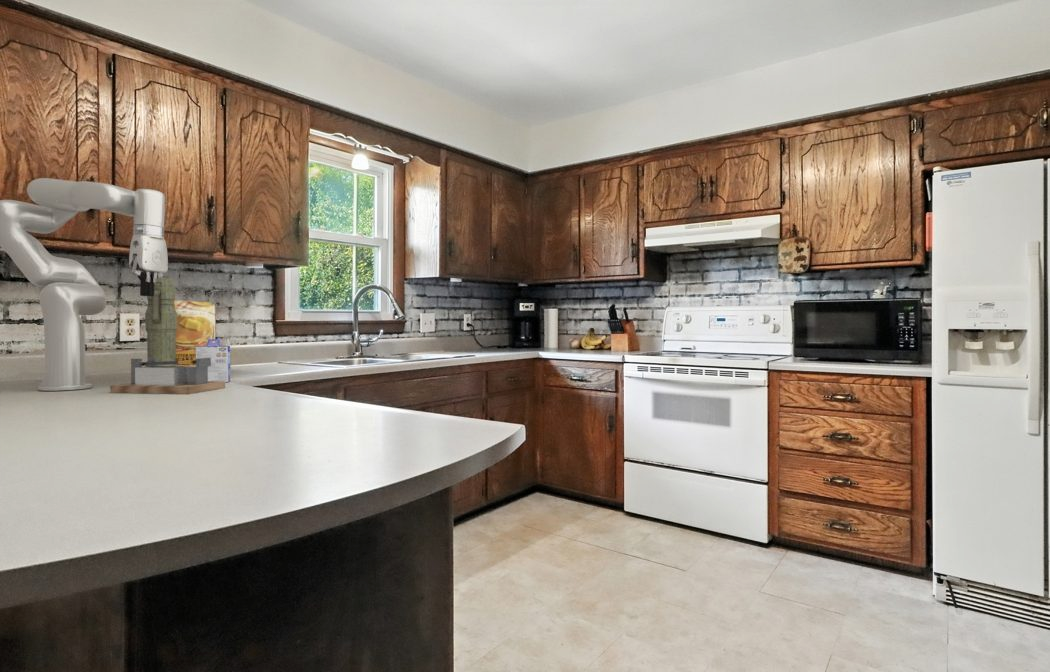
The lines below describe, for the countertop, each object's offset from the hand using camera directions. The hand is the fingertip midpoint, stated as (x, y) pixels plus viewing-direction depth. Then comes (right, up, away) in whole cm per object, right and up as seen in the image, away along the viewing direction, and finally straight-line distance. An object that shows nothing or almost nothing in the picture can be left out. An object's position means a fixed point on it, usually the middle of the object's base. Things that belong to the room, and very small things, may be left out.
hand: (147, 295), depth 171 cm
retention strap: (+6, -20, 0) cm, 21 cm away
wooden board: (+6, -28, +1) cm, 28 cm away
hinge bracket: (-2, -26, +2) cm, 26 cm away
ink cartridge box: (+6, -27, +25) cm, 38 cm away
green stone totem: (-8, -27, +21) cm, 35 cm away
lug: (+16, -26, -1) cm, 30 cm away
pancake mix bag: (-9, -27, +35) cm, 45 cm away
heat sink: (+6, -26, +1) cm, 26 cm away
